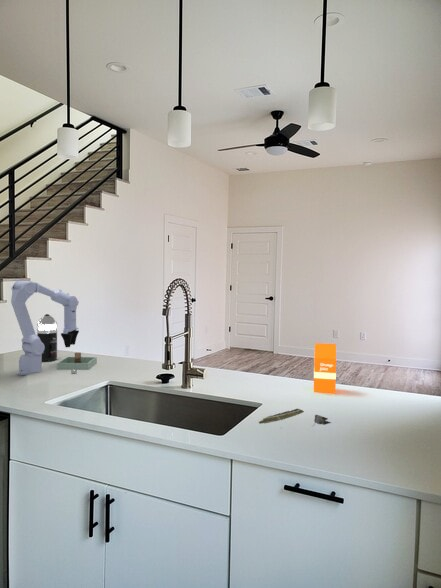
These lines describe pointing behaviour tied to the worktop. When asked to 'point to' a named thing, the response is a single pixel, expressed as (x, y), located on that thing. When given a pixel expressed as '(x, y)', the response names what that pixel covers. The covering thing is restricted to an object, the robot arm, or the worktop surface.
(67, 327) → the robot arm
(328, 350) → the orange juice
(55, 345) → the spray bottle
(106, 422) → the worktop surface
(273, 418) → the dried leaves
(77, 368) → the bin
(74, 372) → the stud plate
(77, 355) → the strut
